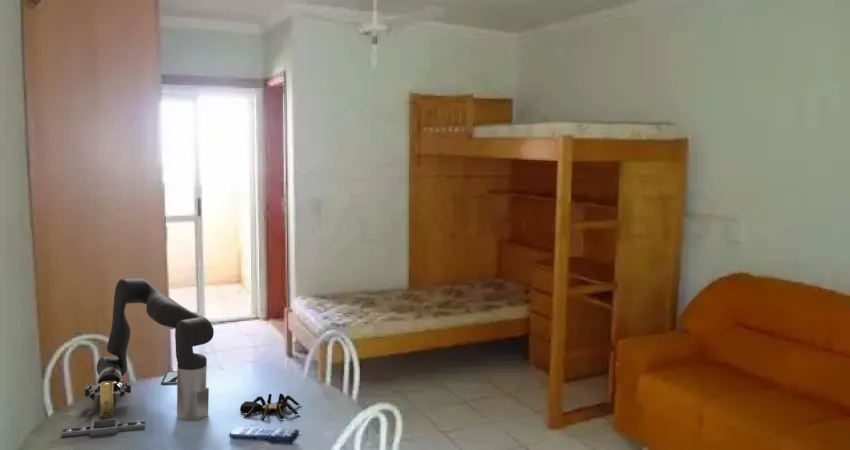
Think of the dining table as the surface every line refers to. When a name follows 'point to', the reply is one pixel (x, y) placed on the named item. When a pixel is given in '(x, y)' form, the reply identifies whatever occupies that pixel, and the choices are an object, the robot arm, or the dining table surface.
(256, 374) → the dining table surface
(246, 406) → the toy
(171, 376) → the smartphone
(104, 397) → the brass pin
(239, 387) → the dining table surface
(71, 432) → the ball bearing track
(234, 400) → the dining table surface
